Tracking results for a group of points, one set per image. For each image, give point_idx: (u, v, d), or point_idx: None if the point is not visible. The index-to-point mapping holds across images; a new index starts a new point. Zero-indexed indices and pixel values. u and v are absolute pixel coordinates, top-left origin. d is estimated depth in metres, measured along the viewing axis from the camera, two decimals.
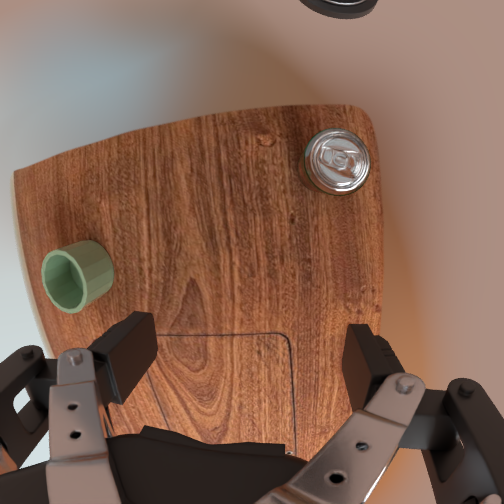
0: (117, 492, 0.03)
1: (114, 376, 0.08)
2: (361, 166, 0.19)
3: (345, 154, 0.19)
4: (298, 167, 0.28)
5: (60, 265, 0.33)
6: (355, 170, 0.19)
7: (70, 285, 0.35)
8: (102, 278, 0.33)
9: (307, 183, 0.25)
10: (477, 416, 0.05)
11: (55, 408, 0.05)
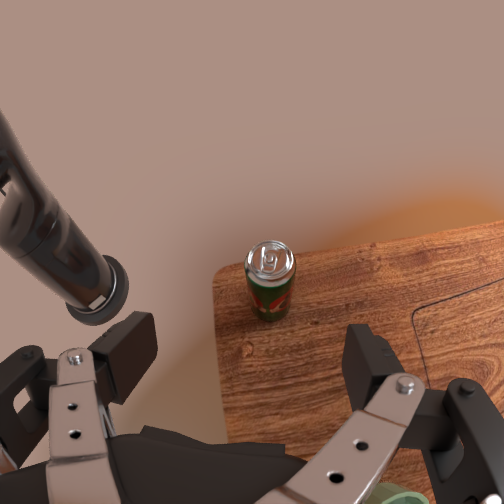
0: (117, 492, 0.03)
1: (114, 376, 0.08)
2: (272, 245, 0.29)
3: (265, 256, 0.28)
4: (272, 314, 0.34)
5: None
6: (276, 249, 0.29)
7: None
8: (389, 487, 0.22)
9: (286, 297, 0.31)
10: (477, 416, 0.05)
11: (55, 408, 0.05)
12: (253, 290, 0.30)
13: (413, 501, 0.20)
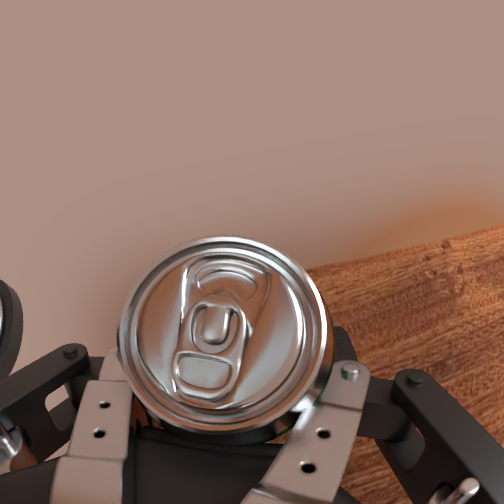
0: (117, 492, 0.03)
1: None
2: (229, 258, 0.06)
3: (193, 311, 0.06)
4: None
5: None
6: (246, 277, 0.06)
7: None
8: None
9: None
10: (431, 405, 0.05)
11: (87, 404, 0.05)
12: None
13: None
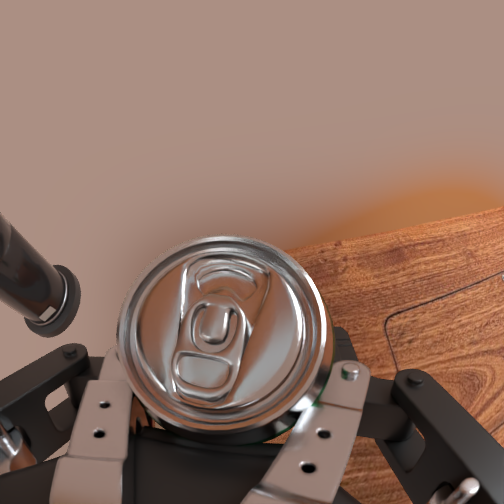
0: (117, 492, 0.03)
1: None
2: (229, 258, 0.06)
3: (193, 310, 0.06)
4: None
5: None
6: (245, 277, 0.06)
7: None
8: None
9: None
10: (432, 405, 0.05)
11: (87, 404, 0.05)
12: None
13: None
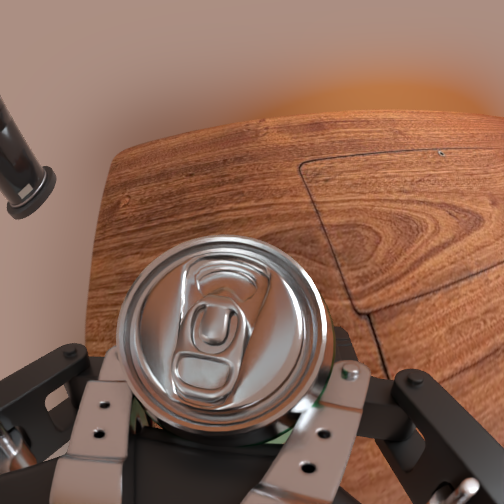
0: (117, 492, 0.03)
1: None
2: (229, 258, 0.06)
3: (193, 311, 0.06)
4: None
5: None
6: (245, 277, 0.06)
7: None
8: None
9: None
10: (432, 405, 0.05)
11: (87, 404, 0.05)
12: None
13: None
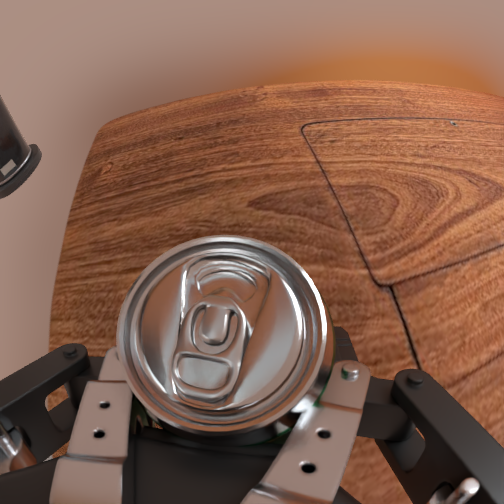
0: (117, 492, 0.03)
1: None
2: (229, 258, 0.06)
3: (193, 311, 0.06)
4: None
5: None
6: (246, 278, 0.06)
7: None
8: None
9: None
10: (432, 405, 0.05)
11: (87, 404, 0.05)
12: None
13: None
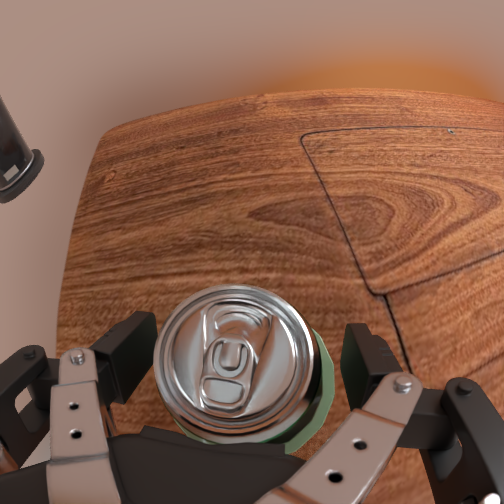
0: (117, 492, 0.03)
1: (116, 376, 0.08)
2: (239, 303, 0.08)
3: (213, 346, 0.08)
4: None
5: None
6: (252, 318, 0.08)
7: (292, 429, 0.15)
8: None
9: None
10: (475, 415, 0.05)
11: (56, 408, 0.05)
12: None
13: None
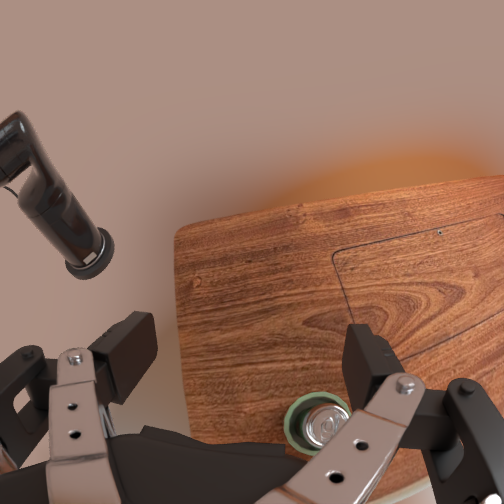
0: (117, 492, 0.03)
1: (114, 376, 0.08)
2: (329, 411, 0.25)
3: (323, 423, 0.24)
4: None
5: (308, 447, 0.30)
6: (333, 414, 0.25)
7: None
8: None
9: None
10: (477, 416, 0.05)
11: (55, 408, 0.05)
12: None
13: None
